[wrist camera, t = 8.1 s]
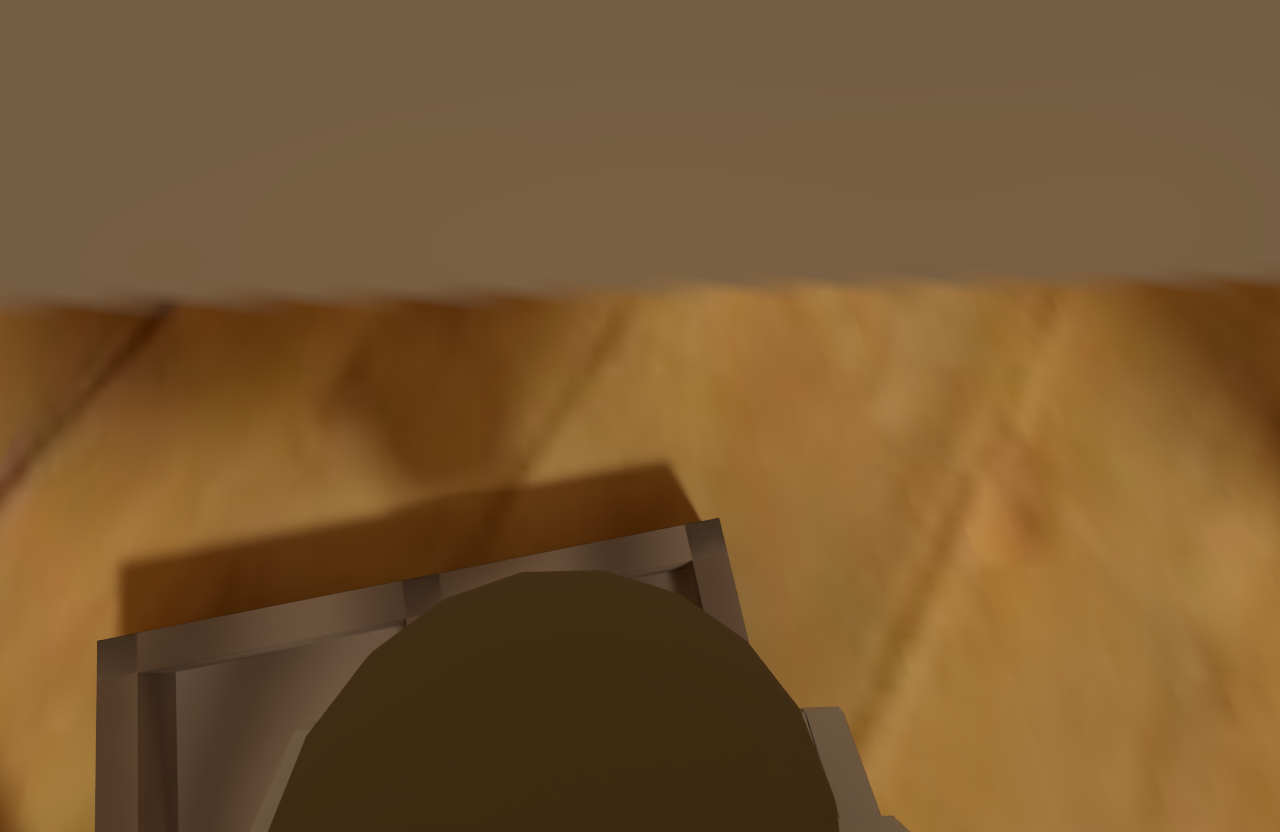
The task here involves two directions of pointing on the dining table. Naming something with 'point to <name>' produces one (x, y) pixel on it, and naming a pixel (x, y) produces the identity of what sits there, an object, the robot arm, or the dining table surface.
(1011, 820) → the dining table surface
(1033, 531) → the dining table surface
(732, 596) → the brown wooden tray
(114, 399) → the dining table surface
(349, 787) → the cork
